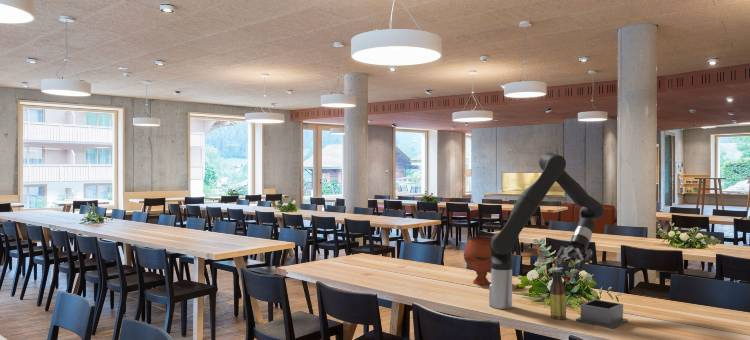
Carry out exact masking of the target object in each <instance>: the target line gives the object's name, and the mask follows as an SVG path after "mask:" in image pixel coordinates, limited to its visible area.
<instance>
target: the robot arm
mask: <svg viewBox="0 0 750 340" xmlns="http://www.w3.org/2000/svg"><path fill="white" fill-rule="evenodd" d="M538 165H539V167H540V169H541V170H542V172H541V174H540V175H539V176H538V178H537V179H536V180H535V181H534V182H533V183H532V184H530V185H529V186H528V187H527V188H525V189H524V190H523V191H522V192H521V194H520V195H519V196H518V198H517V200H516V202H515V203H514V205H513V208H512V210H511V212H510V214H509V217H508V220H507V222H505V224H504V225H503V228H501V230H500V231H499V232H496V233H495V234H493V236H491V237H492V239H491V272H490V276H491V277H490V278H491V279H490V281H491V282H490V283H489V284H488V287H489V288H488V289H489V290H488V295H489V296H488V306H490V307H491V308H494V309H499V310H500V309H501V310H503V309H504V310H507V309H511V308H513V260H512V259H513V258H512V250H513V248H514V245H515V243H516V241H517V239H518V238H519V236H520V234H521V232H522V230H523V229H524V228H525V226H526V225H527V224H528V222H529V221H530V220H531V219H532V217H533V215H535V213H536V212H537V210H538V208H539V207H540V205H541V203H542V202H543V200H544V198H546V195H547V194H548V193H549V191H550V189H551V188H552V187H553V186H554V184H555V183H557V184H558V185H559V187H560V188H561V189H562V190H563V191H564V192H565V193H566V195H567V196H568V197H569V198H570V199H571V201H572V202H573V203H574V204H575V205H576V206H577V207H581V208H580V209H579V218H578V223H577V226H576V228H575V230H574V232H573V235H572V236H571V239H570V241H569V244H568V247H564V246H563V245H561V246H560V248H559V250H558V252H557V254H556V257H557V259H558V262H557V265H558V267H559V268H563V267H564V263H565V261H566V260H569V259H571V258H572V259H580V260H579V262H578V265H577V270H578V271H582V270H583V268H584V267H585V264H586V263H587V264H590V263H591V260H592V258H593V255H594V254H593V250H592V248H588V247H589V244H590V242H591V240H592V235H593V233H594V230H595V228H596V227H595V226H596V223H595V221H594V220H596V219H601V218H603V217H604V215H605V207H604V206H603V204H602V203H600V201H598V200H597V199H596V198H594V197H593V196H590V195H589V194H588V193H587V191H586V190H585V189H584V187H582V185H580V183H578V182H577V180H575V178H573V177H572V176H570V174H568V172H566V170H565V169H566V167H567V161H566V159H565V156H562V155H561V154H557V153H553V152H544V153H542V155H541V156H540V158H539V161H538ZM585 254H586V256H585V258H584V257H583V256H584V255H585Z"/></svg>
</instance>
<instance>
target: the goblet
mask: <svg viewBox="0 0 750 340" xmlns="http://www.w3.org/2000/svg"><path fill="white" fill-rule="evenodd" d="M492 237H493V236H487V235H477V236H469V237H468V240H467V242H466V244H465V247H464V250H463V261H464V262H465V263H466V265H467V266H468V267H469V268H470V269H471V270H473V271H474V272H475V273H476V277H475V278H474V280H473V281H472V283H473V284H475V285H483V284H484V285H490V281H489V279H488V278H487V275H488V273H490V271H491V239H492Z"/></svg>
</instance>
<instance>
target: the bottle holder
mask: <svg viewBox="0 0 750 340" xmlns="http://www.w3.org/2000/svg"><path fill="white" fill-rule="evenodd" d="M628 320H629V318H624V304H623V303H620V302H619V303H618V302H612V301H606V300H600V299H595V298H594V299H591V300H589V301H586V302H584V303H581V304H580V317H576V318H575V322H577V323H583V324H587V325H592V326H598V327H601V328H602V327H603V328H606V329H607V328H608V329H616V328H618V327H620V326H622V325H623V324H625V323H627V322H628Z"/></svg>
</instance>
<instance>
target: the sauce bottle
mask: <svg viewBox="0 0 750 340" xmlns="http://www.w3.org/2000/svg"><path fill="white" fill-rule="evenodd" d="M551 275H552V281H551V284H550V288H549V299H550V300H549V304H550V317H551V318H552V319H554V320H560V321H561V320H565V319H567V301H566V299H567V297H566V286H565V284H564V282H563V271H562V270H561V269H552V271H551Z"/></svg>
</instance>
